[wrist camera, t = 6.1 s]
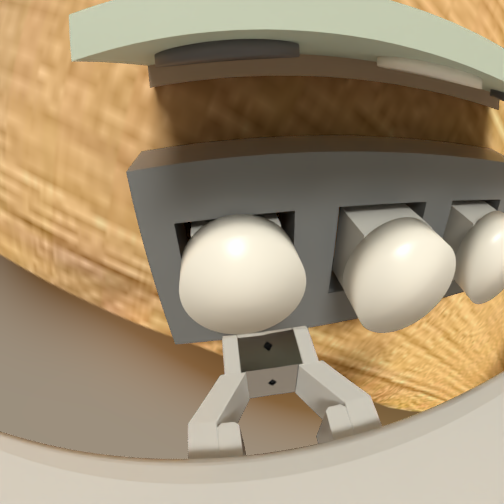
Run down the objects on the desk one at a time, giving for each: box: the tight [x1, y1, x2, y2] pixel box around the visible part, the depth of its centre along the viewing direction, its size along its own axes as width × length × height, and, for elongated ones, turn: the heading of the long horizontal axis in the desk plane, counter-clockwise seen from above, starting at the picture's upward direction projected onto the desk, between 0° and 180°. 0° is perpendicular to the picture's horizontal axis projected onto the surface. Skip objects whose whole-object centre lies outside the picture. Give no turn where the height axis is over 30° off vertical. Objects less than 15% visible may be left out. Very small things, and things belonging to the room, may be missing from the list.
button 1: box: [179, 213, 306, 334], centre depth 14 cm, size 5×5×4 cm
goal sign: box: [69, 0, 504, 110], centre depth 8 cm, size 20×3×8 cm, turn 93°
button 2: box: [442, 200, 504, 304], centre depth 14 cm, size 5×5×4 cm
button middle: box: [332, 203, 456, 333], centre depth 13 cm, size 5×5×4 cm
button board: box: [126, 135, 504, 344], centre depth 15 cm, size 22×10×3 cm, turn 93°
